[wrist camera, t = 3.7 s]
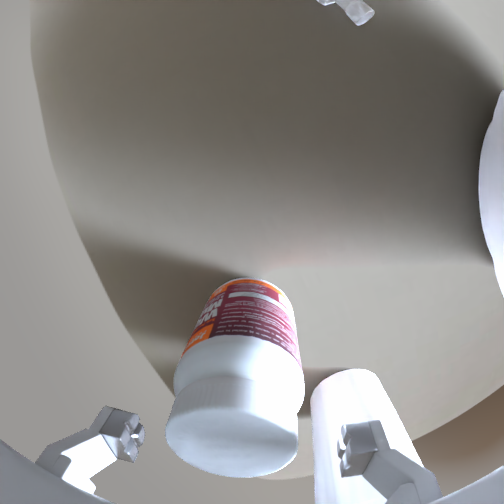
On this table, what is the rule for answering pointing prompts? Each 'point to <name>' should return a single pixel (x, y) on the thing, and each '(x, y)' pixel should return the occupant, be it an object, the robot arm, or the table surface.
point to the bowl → (493, 189)
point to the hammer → (353, 9)
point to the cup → (329, 429)
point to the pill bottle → (239, 384)
